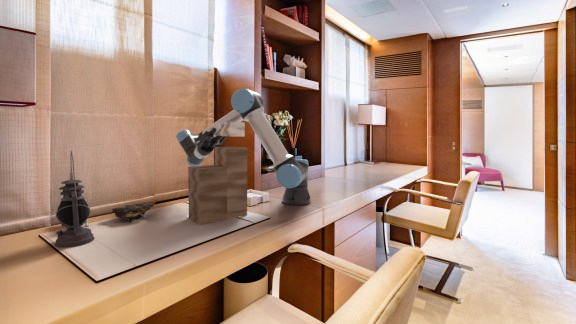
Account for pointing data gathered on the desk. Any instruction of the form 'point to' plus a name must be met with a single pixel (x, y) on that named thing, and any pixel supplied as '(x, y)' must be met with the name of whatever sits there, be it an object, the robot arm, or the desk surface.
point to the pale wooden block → (232, 129)
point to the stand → (219, 187)
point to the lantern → (73, 214)
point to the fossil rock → (132, 211)
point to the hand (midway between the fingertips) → (224, 125)
